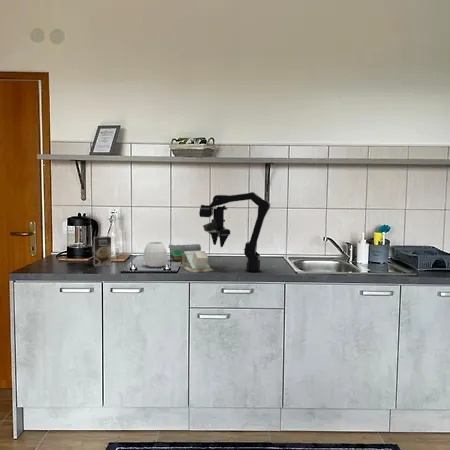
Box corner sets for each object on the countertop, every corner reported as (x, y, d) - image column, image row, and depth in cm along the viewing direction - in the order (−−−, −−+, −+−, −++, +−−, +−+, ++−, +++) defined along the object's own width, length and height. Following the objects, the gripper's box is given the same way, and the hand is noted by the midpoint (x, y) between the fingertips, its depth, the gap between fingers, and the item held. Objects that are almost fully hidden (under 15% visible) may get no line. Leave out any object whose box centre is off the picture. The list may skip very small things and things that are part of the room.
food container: (169, 262, 280) (169, 245, 279) (168, 260, 286) (168, 244, 285) (189, 262, 282) (190, 245, 281) (188, 260, 288) (188, 243, 287)
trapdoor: (197, 249, 273) (198, 242, 271) (208, 271, 258) (210, 264, 256) (180, 250, 269) (182, 243, 267) (191, 272, 254) (193, 265, 252)
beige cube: (202, 259, 261) (204, 250, 258) (205, 266, 257) (208, 257, 254) (192, 260, 259) (194, 251, 256) (195, 267, 254) (197, 258, 251)
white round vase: (140, 265, 269) (140, 241, 268) (162, 263, 275) (162, 240, 274) (147, 269, 258) (147, 244, 256) (170, 267, 264) (170, 243, 262)
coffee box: (94, 266, 262) (94, 237, 260) (93, 264, 268) (93, 236, 266) (111, 265, 265) (111, 237, 264) (109, 263, 271) (109, 236, 270)
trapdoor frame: (199, 264, 274) (200, 251, 273) (213, 270, 257) (213, 256, 256) (178, 266, 269) (178, 252, 268) (190, 272, 251) (190, 257, 250)
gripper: (198, 216, 264) (198, 244, 266) (211, 219, 247) (211, 249, 249) (216, 216, 269) (216, 243, 271) (231, 219, 252) (230, 248, 254)
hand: (218, 245), depth 261 cm, fingers open, 9 cm apart
